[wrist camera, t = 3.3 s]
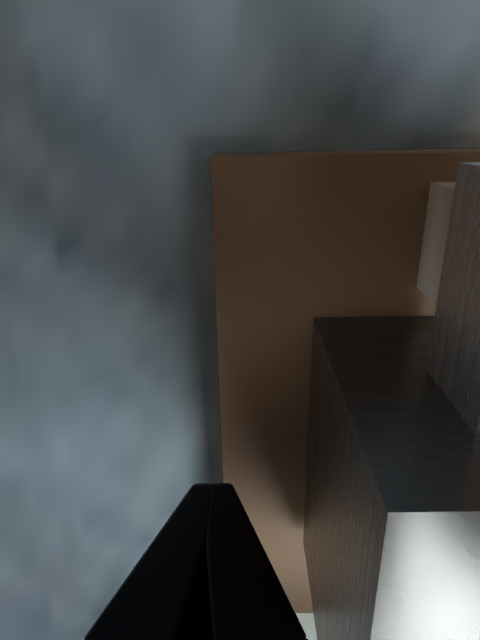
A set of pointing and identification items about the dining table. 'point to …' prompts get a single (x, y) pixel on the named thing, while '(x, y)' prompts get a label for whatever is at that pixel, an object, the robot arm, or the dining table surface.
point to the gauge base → (310, 301)
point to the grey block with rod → (400, 458)
